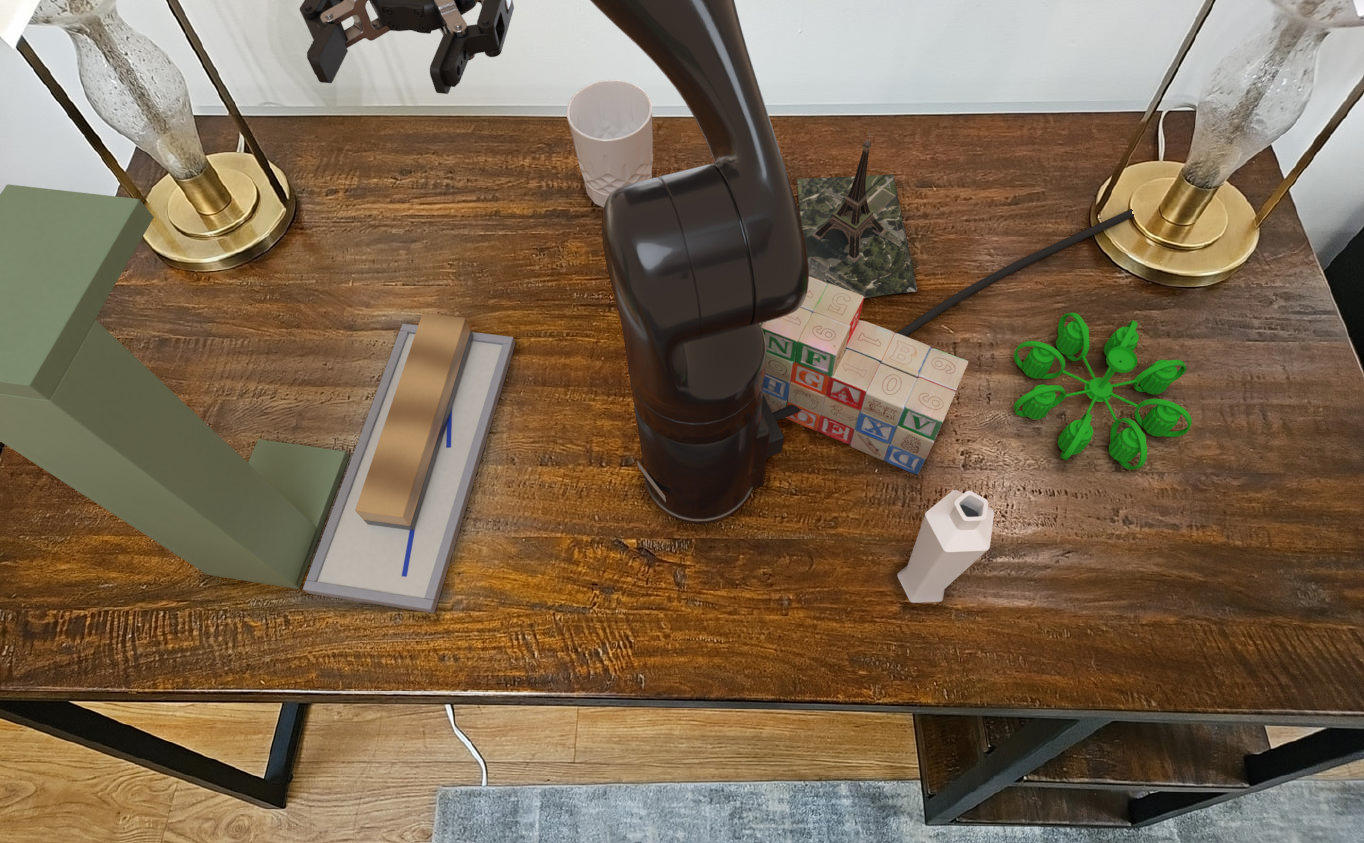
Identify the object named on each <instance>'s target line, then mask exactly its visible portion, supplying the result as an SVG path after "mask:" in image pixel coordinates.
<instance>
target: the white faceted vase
mask: <svg viewBox="0 0 1364 843" xmlns="http://www.w3.org/2000/svg"><path fill="white" fill-rule="evenodd" d="M994 518H995V511H994V510H993V509H992V508H991V507H989V500H988V499H987V498H985V497H983V496H981V495H980V494H977V493H976V492H973V491H972V490H966V491H964V492H962V491H960V490H957V489H952V490H951V491H950V492H948V494H947V495H945V496H944V497H942V499H940V500H939V501H938V502H937V503H935V504H934V505H933V506H931V507H930V508H929V509H928V510H927V511H926V512H925V513H924V517H923V519H922V522H921V525H920V528H919V531H918V533H917V537H916V538H915V543H914V546H913V549H912V551H911V554H910V557H909V559H908V563H907V565H906V566H904V567H903V568H902V569H901V570H900V571H898V572H897V578H898V581H899V582H900V584H901V587H902V588H903V591H904V593H905V595H906V597H907V598H908V599H907V600H908V601H909V602H910V603H912V604H916V603H917V604H918V603H919V604H920V603H922V604H923V603H939V602H943V600H944V596H945V589H947V587H948V586H951V584H952V583H954V581H955V580H956V579H958V578H959V577H960V576H961V575H962V574H963V573H964V572H965V571H966V570H968V568H970V567H971V566H972V565H973V564H974V563H976V561H978V560H979V559H980V558H981V557H982V556H983V555H984V554H985V553H987V552H988V550H990V548H991V540H992V532H993V526H994Z"/></svg>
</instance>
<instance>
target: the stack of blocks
mask: <svg viewBox="0 0 1364 843" xmlns="http://www.w3.org/2000/svg"><path fill="white" fill-rule="evenodd" d="M864 301H865V298H864V296H862V295H860V294H857V293H854V292H852V291H849V290H846V289H843V288H841V287H838V286H835V285H833V284H827V283H825V282H823V281H821V280H818V279H815V278H812V277H809V281H808V291H807V294H806V298H805V300H804V302H803V304H802V305H801V307H800V308H799V309H798V310H797V311H795V312H793V313H791V314H789V315H786V316H784V317H781V318H777V319H774V320H770V321H767V322H763V323H760V326H761V328H762V330H763V333H764V336H765V340H766V350H767V354H766V367H765V376H764V386H763V395H764V397H765V399H766V401H767V403H768V405H769V407H770V409H771V411H772V413H773V412H775V411H778V410H780V409H783V408H785V407H787V406H790V405H795V406H797V407H798V408H800V409H801V411H800V412H798V413H795V414H793V415H791V416H788V417H786V418H785V419H787V420H789V421H791V422H795V424H799V425H800V426H803V427H806V428H807V429H810V430H812V431H814V432H818V433H821V434H823V435H825V436H827V437H830V438H832V439H834V440H837V441H839V442H841V443H844V444H846V445H849V446H850V447H851V448H853V449H855V450H857V451H860V452H862V453H865V454H867V455H869V456H871V457H873V458H875V459H878V460H881V461H884V462H886V463H888V464H890V465H892V466H895V467H897V468H898V469H899V468H900V469H902V470H904V471H906V472H908V473H911V474H913V475H916V476H918V475H919V474H920V472H921V470H922V468H923V467H924V464H925V462H926V459H927V458H928V457H929V455H930V453H931V450H932V448H933V446H934V444H935V442H936V439H937V437H938V434H939V432H940V431H941V428H942V426H943V424H944V421H945V420H946V417H947V414H948V412H949V409H950V407H951V404H952V402H953V401H954V397H955V395H956V392H957V390H958V387H959V385H960V383H961V381H962V379H963V376H964V373H965V372H966V369H967V367H968V364H969V360H967V359H965V358H962V357H959V356H956V355H954V354H952V353H951V354H950V353H948V352H946V351H944V350H941V349H938V348H934V347H932V346H931V345H929V344H927V343H924V342H921V341H919V340H916V339H915V338H914V339H913V338H911V337H908V336H907V337H906V336H903V335H901V334H898V332H895V331H893V330H891V329H889V328H885V327H883V326H880V325H877V324H874V323H871V322H868V321H865V320H860V318H861V314H862V309H863V305H864Z"/></svg>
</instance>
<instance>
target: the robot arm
mask: <svg viewBox="0 0 1364 843" xmlns="http://www.w3.org/2000/svg"><path fill="white" fill-rule="evenodd" d="M368 1H369V4H370V5H371V6H372V9H373V11H374V12H375V15H376V16H377V17H376V18H375V19H373V20H371V19H370V16H369V13H368V10H367V8H366V6H367V3H368ZM589 1H590V2H591V3H592V4H593V5H594V6H595V7H596V9H598V10H599V11H600V12H601V14H603V16H605V17H606V18H607V19H608V20H609V21H610V22H612V24H613V25H614V26H616V27H617V28H618V29H619V30H620V31H621V32H622V33H623V34H624V35H625V36H627V38H628V39H630V41H632V43H634V44H635V45H636V46H637V47H638V48H639V49H640V50H641V51H642V52H643V53H644V54H645V55H646V56H647V57H648V58H649V59H650V60H651V61H652V62H653V63H654V64H655V65H656V66H657V68H658V69H659V70H660V71H661V72H662V74H663V75H664V76H665V77H666V78H667V79H668V81H669V82H670V83H671V85H672V86H673V87H674V88H675V90H676V91H677V93H678V94H679V96H680V97H681V98H682V99H683V101H684V104H686V106H687V108H688V109H689V111H690V113H691V115H692V116H693V118H694V120H695V123H696V124H697V126H698V129H699V130H700V132H701V133H702V136H703V138H704V140H705V143H706V145H707V147H708V149H709V152H710V156H711V158H712V161H713V163H710V164H705V165H700V166H695V167H692V168H688V169H684V170H680V171H676V172H671V173H668V174H667V173H666V174H664V175H663V174H662V175H659V176H656V177H652V178H651V179H647V180H643V181H639V182H635V183H631V184H628V185H624V186H621V187H619V188H617V189H615V190H614V191H613V192H612V193H611V194H610V195H609V197H608V198H607V200H606V202H605V205H604V208H602V215H601V240H602V241H601V242H602V248H603V254H604V260H605V264H606V269H607V274H608V276H609V281H610V284H611V288H612V292H613V297H614V301H615V303H616V304H615V305H616V308H617V311H618V315H619V319H620V326H621V330H622V336H623V337H622V338H623V342H624V349H625V355H626V362H627V369H628V370H627V371H628V377H629V381H630V389H631V395H632V402H633V408H634V413H635V420H636V426H637V432H638V439H639V440H638V441H639V446H640V453H641V458H642V460H641V461H642V464H641V463H640V462H639V460H636V463H637V468H638V469H639V470H640V471H641V473H642V474H643V480H644V484H645V485H644V486H645V487H646V491H647V494H648V495H649V497H650V499H651V500H652V501H653V503H654V504H655V505H656V506H657V507H658V509H660V510H661V511H662V512H663V513H664V514H666V515H667V516H669V517H671V518H673V519H675V520H677V521H680V522H683V523H687V524H695V525H697V524H698V525H707V524H712V523H716V522H720V521H722V520H725V519H727V518H728V517H731V516H732V515H734V514H735V513H736V512H737V511H739V510H740V509H741V508H742V507H743V506H744V505H745V504H746V503H747V501H748V499H749V498H750V496H751V494H752V493H753V491H754V490H756V489H758V488H761V487H763V486H764V484H765V477H766V476H765V475H766V469H767V467H766V466H767V460H768V458H770V457H772V456H775V455H779V454H781V453H783V447H784V441H785V436H784V434H783V432H782V430H781V427H780V426H779V424H778V422H779V421H781V420H784V419H787V418H786V417H788V416H791V415H793V414H795V413H798V412H800V411H801V409H800V408H798V407H797V406H795V405H790V406H787V407H785V408H783V409H780V410H778V411H775V412H773V413H772V411H771V409H770V407H769V405H768V403H767V401H766V399H765V397H764V395H763V386H764V376H765V367H766V354H767V350H766V340H765V336H764V333H763V330H762V328H761V326H760V323H763V322H767V321H770V320H774V319H777V318H781V317H784V316H786V315H789V314H791V313H793V312H795V311H797V310H798V309H799V308H800V307H801V305H802V304H803V302H804V300H805V298H806V294H807V291H808V281H809V267H808V256H807V248H806V243H805V237H804V233H803V228H802V222H801V216H800V211H799V208H798V205H797V202H796V199H795V195H794V192H793V189H792V185H791V182H790V178H789V175H788V172H787V168H786V165H785V163H784V159H783V156H782V153H781V150H780V147H779V143H778V140H777V138H776V135H775V132H774V129H773V125H772V122H771V119H770V116H769V113H768V110H767V106H766V104H765V101H764V97H763V95H762V90H761V88H760V85H759V81H758V78H757V75H756V71H755V69H754V65H753V63H752V60H751V56H750V53H749V50H748V46H747V42H746V39H745V36H744V32H743V29H742V25H741V21H740V17H739V14H738V9H737V5H736V2H735V0H589ZM478 3H479V4H480V6H481V8H480V12H479V15H478V17H477V21H476V24H470V25H468V24H467V22H466V20H465V19H464V17H463V15H465V14H466V13H468V12H469V11H471V10H473V9H474V8H475V7H476V6H477V4H478ZM514 9H515V6H514V1H513V0H304V1H303V2H302V4H301V5H300V6H299V12H300V14H301V17H302V18H303V21H304V22H305V25H306V27H307V30H308V31H309V33H310V36H311V38H312V41H311V44H310V46H309V48H308V50H307V51H306V59H307V61H308V63H309V64H310V67H311V70H312V71H313V73H314V75H315V76H316V78H317V80H318V82H319V83H321V84H332V83H333V82H334V80H335V78H336V76H337V74H338V72H339V70H340V68H341V66H342V64H343V62H344V60H345V58H346V56H347V54H348V52H349V50H348V48H350V47H351V46H353V45H355V44H358V43H359V42H360V41H362V40H363V39H364V40H365V39H366V40H367V41H375V40H376V39H378V38H379V37H382V36H384V35H385V34H386V33H388V32H391V31H392V32H406V31H412V32H416V33H419V34H428V35H431V33H432V32H433V31H437V30H439V31H440V33H441V35H442V38H441V39H440V42H439V44H438V47H437V49H436V51H435V54H434V56H433V58H432V61H431V63H430V65H429V75H430V78H431V82H432V85H433V88H434V90H435V93H436V94H444V95H448V94H449V93H450V90H451V88H456V86H458V85H459V84H460V82H461V80H462V77H463V75H464V72H465V70H466V67H467V65H468V63H469V61H471V60H473V59H474V58H475V56H476V55H478V54H481V53H484V54H485V56H487V57H488V58H495V57H498V56H500V55H501V54H502V52H503V47H504V45H505V41H506V38H507V33H508V30H509V27H510V23H511V20H512V16H513V13H514ZM351 17H352V19H353V24H352V25H351V26H350V27H347V28H346V29H345V28H344V26H343V24H342V23H343V22H345V21H346V20H348V19H350V18H351ZM1132 211H1133V210H1132V209H1131V208H1130V209H1127V210H1125V211H1123V212H1121V213H1119V214H1117V215H1115V216H1113V217H1110V218H1108V219H1106V220H1104V221H1101V222H1099V223H1097V224H1095V225H1093V226H1090V227H1088V228H1086V229H1084V230H1082V231H1079V232H1077V233H1075V234H1073V235H1071V236H1069V237H1066V238H1064V239H1062V240H1060V241H1057V242H1055V243H1053V244H1050V245H1049V246H1046V247H1044V248H1042V249H1040V250H1037V251H1035V252H1034V253H1031V254H1029V255H1026V256H1025V257H1023V258H1021V259H1018V260H1017V261H1015V262H1012V263H1011V264H1009V265H1007V266H1005V267H1003V268H1001V269H999V270H997V271H995V272H993V273H991V274H989V275H988V276H985V277H984V278H982V279H980V280H978V281H976V282H974V283H972V284H971V285H969V286H967V287H966V288H964V289H962V290H961V291H959V292H956V293H955V294H953V295H952V296H950V297H949V298H947V299H945V300H944V301H942V302H940V303H939V304H936V306H934V307H932V308H931V309H930V310H928V311H926V312H925V313H923V314H922V315H921V316H919V317H917V318H916V319H914V320H913V321H911V322H910V323H909V324H907V325H906V326H905V327H903V328H902V329H900V330H899V331H897V333H898V334H901V335H903V336H906V337H908V336H910V335H911V334H912V333H914V332H915V331H917V330H918V329H920V328H922V327H923V326H924V325H925V324H927V323H929V322H930V321H932V320H933V319H934V318H937V317H938V316H939V315H941V314H942V313H944V312H946V311H948V310H949V309H951V308H952V307H954V306H956V305H957V304H959V303H960V302H962V301H964V300H965V299H967V298H969V297H971V296H972V295H974V294H976V293H978V292H980V291H981V290H983V289H986V288H987V287H988V286H990V285H993V284H994V283H996V282H999V281H1000V280H1002V279H1004V278H1006V277H1008V276H1010V275H1013V274H1014V273H1016V272H1017V271H1020V270H1022V269H1024V268H1025V267H1028V266H1030V265H1031V264H1034V263H1036V262H1038V261H1040V260H1042V259H1046V258H1047V257H1049V256H1051V255H1054V254H1056V253H1058V252H1060V251H1062V250H1065V249H1066V248H1069V247H1071V246H1072V245H1075V244H1077V243H1080V242H1082V241H1084V240H1086V239H1088V238H1090V237H1092V236H1095V235H1097V234H1099V233H1101V232H1104V231H1106V230H1108V229H1111V228H1112V227H1114V226H1117V225H1119V224H1121V223H1123V222H1125V221H1127V220H1130V219H1132V218H1133V216H1134V214H1132ZM1134 217H1135V216H1134Z"/></svg>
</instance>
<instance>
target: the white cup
mask: <svg viewBox="0 0 1364 843" xmlns="http://www.w3.org/2000/svg"><path fill="white" fill-rule="evenodd" d="M566 119H567V122H568V128H569V130H570V135H571V138H572V144H573V148H574V151H575V156H576V159H577V162H578V166H579V170H580V173H581V175H582V178H583V182H584V187H585V191H586V195H587V196H588V197H589V198H590V199H591V201H592V202H593V203H594V204H595V205H597V206H599V207H601V208H602V209H604V205H605V202H606V200H607V198H608V197H609V195H610V194H611V193H612V192H613V191H614V190H615V189H617V188H619V187H621V186H624V185H628V184H631V183H635V182H639V181H643V180H647V179H651V178H653V163H654V162H653V161H654V132H653V131H654V130H653V129H654V127H653V125H654V124H653V104H652V100H651V98H650V96H649V94H648V93H647V92H646V91H645V90H644V89H643V88H642V87H640V86H639V85H637V84H635V83H632V82H630V81H626V80H621V79H604V80H598V81H595V82H593V83H592V82H591V83H589V84H587V85H585V86H584V87H581V88H580V89H579V90H577V92H576V93H574V94H573V96H572V97H571V98H570V100H569V101H568V103H567V107H566Z"/></svg>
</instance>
